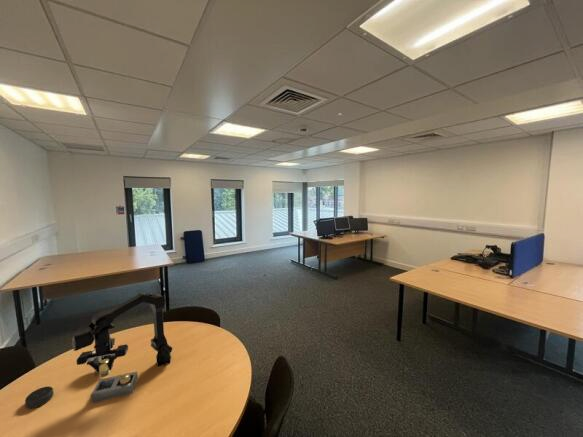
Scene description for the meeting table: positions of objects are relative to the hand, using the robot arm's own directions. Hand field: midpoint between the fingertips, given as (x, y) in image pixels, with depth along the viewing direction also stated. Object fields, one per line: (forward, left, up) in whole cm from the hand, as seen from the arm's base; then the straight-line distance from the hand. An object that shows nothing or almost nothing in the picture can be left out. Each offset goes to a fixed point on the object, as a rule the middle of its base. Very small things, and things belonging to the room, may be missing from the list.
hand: (104, 370), depth 114 cm
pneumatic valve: (+8, -19, -11) cm, 23 cm away
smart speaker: (+27, -5, -11) cm, 30 cm away
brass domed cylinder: (0, 0, -2) cm, 2 cm away
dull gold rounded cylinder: (-8, 0, -11) cm, 14 cm away
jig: (-4, 0, -11) cm, 12 cm away
